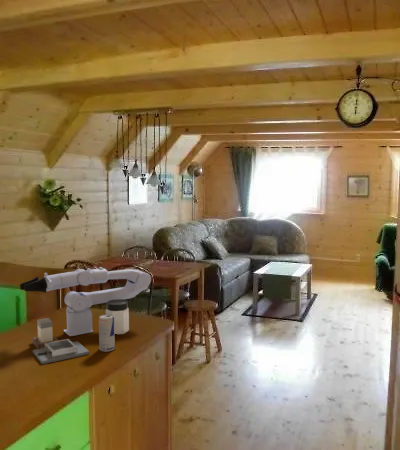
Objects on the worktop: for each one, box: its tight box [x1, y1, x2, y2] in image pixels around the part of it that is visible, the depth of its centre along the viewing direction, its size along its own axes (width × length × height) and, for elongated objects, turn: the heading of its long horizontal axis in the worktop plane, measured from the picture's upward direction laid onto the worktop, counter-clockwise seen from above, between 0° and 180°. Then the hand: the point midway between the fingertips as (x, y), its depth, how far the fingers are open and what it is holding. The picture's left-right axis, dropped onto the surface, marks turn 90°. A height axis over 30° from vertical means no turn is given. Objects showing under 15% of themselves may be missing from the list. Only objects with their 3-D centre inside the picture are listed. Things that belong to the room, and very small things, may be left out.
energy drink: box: [98, 313, 116, 353], centre depth 165 cm, size 5×5×12 cm
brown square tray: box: [31, 335, 59, 349], centre depth 170 cm, size 7×8×2 cm
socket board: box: [32, 338, 90, 365], centre depth 162 cm, size 16×12×3 cm
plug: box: [36, 317, 54, 343], centre depth 170 cm, size 4×5×9 cm
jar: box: [105, 299, 130, 336], centre depth 184 cm, size 9×8×12 cm
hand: (22, 287), depth 171 cm, fingers open, 7 cm apart
